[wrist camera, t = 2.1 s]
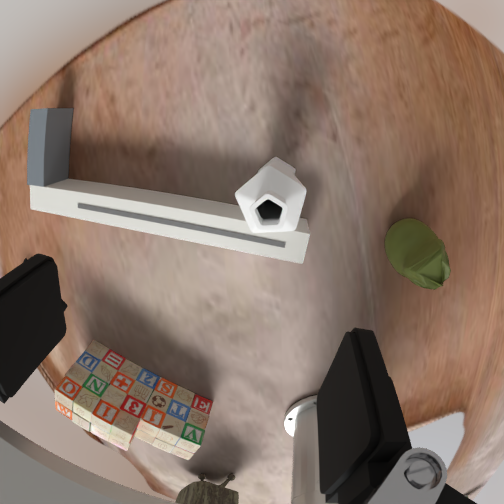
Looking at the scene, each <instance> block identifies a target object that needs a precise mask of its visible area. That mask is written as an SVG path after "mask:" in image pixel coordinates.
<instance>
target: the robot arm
mask: <svg viewBox="0 0 504 504" xmlns="http://www.w3.org/2000/svg"><path fill="white" fill-rule="evenodd" d="M65 333H66V323H65V317H64V312H63V306H62V299H61V293H60V286H59V278H58V269H57V265H56V263H55V262H54V259H53V258H52V257H49V256H46V255H43V254H36V255H34V256H33V257H31V258H30V259H28V260H27V261H25V262H24V263H22V264H21V265H19V266H18V267H16V268H15V269H13V270H12V271H11V272H9V273H8V274H6V275H5V276H3V277H2V278H1V279H0V401H1V402H3V403H5V402H6V401H7V400H8V398H9V397H13V396H14V395H15V394H16V392H17V391H18V390H19V389H20V387H21V386H22V385H23V384H24V382H25V381H26V380H27V379H28V378H29V376H30V375H31V374H32V373H33V372H34V370H35V369H36V368H37V367H38V366H39V365H40V363H41V362H42V361H43V360H44V359H45V358H46V356H47V355H48V354H49V353H50V352H51V351H52V350H53V348H54V347H55V346H56V345H57V344H58V343H59V342H60V340H61V339H62V338H63V337H64V336H65ZM284 426H285V429H286V431H287V432H288V433H289V434H290V435H291V436H292V437H294V438H293V469H292V492H291V504H477V503H475V502H474V501H472V500H470V499H469V498H467V497H466V496H464V495H463V494H461V493H460V492H458V491H457V490H455V489H454V488H452V487H451V486H449V485H448V484H446V483H445V482H446V479H447V469H446V467H445V464H444V462H443V461H442V459H441V458H440V457H439V456H438V455H437V454H436V453H434V452H433V451H431V450H428V449H425V448H413V449H412V446H411V442H410V439H409V435H408V431H407V428H406V424H405V421H404V417H403V414H402V410H401V407H400V404H399V400H398V397H397V394H396V391H395V388H394V384H393V381H392V379H391V378H390V377H389V376H388V373H387V370H386V367H385V364H384V360H383V358H382V355H381V352H380V349H379V346H378V343H377V340H376V337H375V334H374V332H373V331H371V330H365V329H359V328H354V329H353V330H352V331H351V332H346V333H345V335H344V338H343V340H342V342H341V344H340V347H339V349H338V351H337V354H336V356H335V358H334V360H333V362H332V365H331V367H330V369H329V371H328V373H327V375H326V377H325V380H324V382H323V384H322V386H321V388H320V390H319V392H318V395H315V396H311V397H308V398H305V399H302V400H300V401H299V402H297V403H295V404H294V405H293V406H291V407H290V408H289V409H288V411H287V412H286V414H285V418H284ZM0 504H179V503H175V502H171V501H168V500H164V499H161V498H158V497H155V496H151V495H149V494H145V493H142V492H140V491H136V490H134V489H131V488H128V487H125V486H123V485H120V484H118V483H115V482H113V481H110V480H108V479H105V478H103V477H101V476H98V475H96V474H94V473H92V472H89V471H87V470H85V469H83V468H81V467H79V466H77V465H74V464H73V463H71V462H69V461H67V460H65V459H63V458H61V457H59V456H57V455H55V454H53V453H52V452H49V451H48V450H46V449H44V448H43V447H41V446H39V445H37V444H36V443H34V442H32V441H31V440H29V439H28V438H25V437H24V436H23V435H21V434H20V433H18V432H17V431H15V430H13V429H12V428H10V427H9V426H7V425H6V424H4V423H3V422H2V421H0Z"/></svg>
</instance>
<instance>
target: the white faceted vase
mask: <svg viewBox="0 0 504 504" xmlns="http://www.w3.org/2000/svg"><path fill="white" fill-rule="evenodd" d="M295 172H296V169H295V168H294V167H292V166H291V165H289V164H287V163H286V162H284V161H283V160H281V159H279V158H278V157H274V158H272V159H271V160H270V161H269V162H268V163H266V164H265V165H264V166H263V167H262V168H260V169H259V170H258V173H257V174H256V175H255V176H254V177H253V178H251V179H250V180H249V181H248V182H247V183H245V184H244V185H243V186H242V187H241V188H240V189H238V190H237V191H236V193H235V197H236V199H237V201H238V204H239V206H240V208H241V210H242V213H243V215H244V217H245V219H246V222H247V224H248V226H249V228H250V230H251V232H253V233H266V232H286V231H294V230H296V228H297V224H298V221H299V217H300V214H301V210H302V207H303V203H304V199H305V196H306V191H307V190H306V188H305V187H304V186H303V185H302V183H301V182H300V181H299V180H298V179H297V177H296V176H295Z"/></svg>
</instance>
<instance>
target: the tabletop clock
mask: <svg viewBox="0 0 504 504" xmlns="http://www.w3.org/2000/svg"><path fill="white" fill-rule="evenodd" d="M198 478H199V479H201V481H198V482H193V483H191V484H189V485H188V486H186V487H185V488H183V489H182V490H181V491H180V492H179V494H178V497H177V499H176V502H175V503H179V504H238V499H239V495H238V492H237V491H234V490H231V489H227V488H225V486H226V485H227V483H228V482H229V481H230V480H231V481H232V480H234V479H235V476H234V475H233V474H229V475H228V479H227V480H226V481H225V482H224V483H223V484H221V485H215V484H212V483H210V482H207V481H203V480H204V479H205V475H204V474H202V473H201V474H199V476H198Z"/></svg>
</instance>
